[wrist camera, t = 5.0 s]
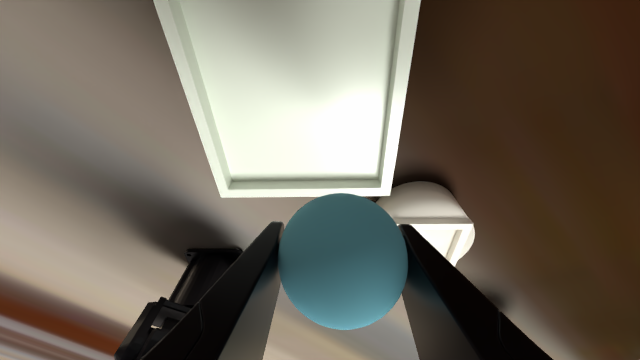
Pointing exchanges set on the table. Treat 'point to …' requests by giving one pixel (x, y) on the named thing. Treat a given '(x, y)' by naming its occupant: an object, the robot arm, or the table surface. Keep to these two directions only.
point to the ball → (342, 261)
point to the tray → (295, 90)
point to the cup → (431, 216)
